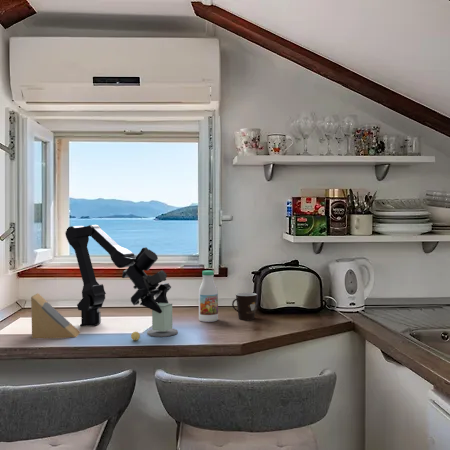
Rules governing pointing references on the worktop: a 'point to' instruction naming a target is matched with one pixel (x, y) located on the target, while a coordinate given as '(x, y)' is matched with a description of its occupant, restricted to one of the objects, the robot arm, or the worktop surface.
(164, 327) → the pale green block
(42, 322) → the sandwich container
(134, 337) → the mustard ball
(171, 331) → the coaster
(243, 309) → the coffee mug
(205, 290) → the milk bottle
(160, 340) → the worktop surface
